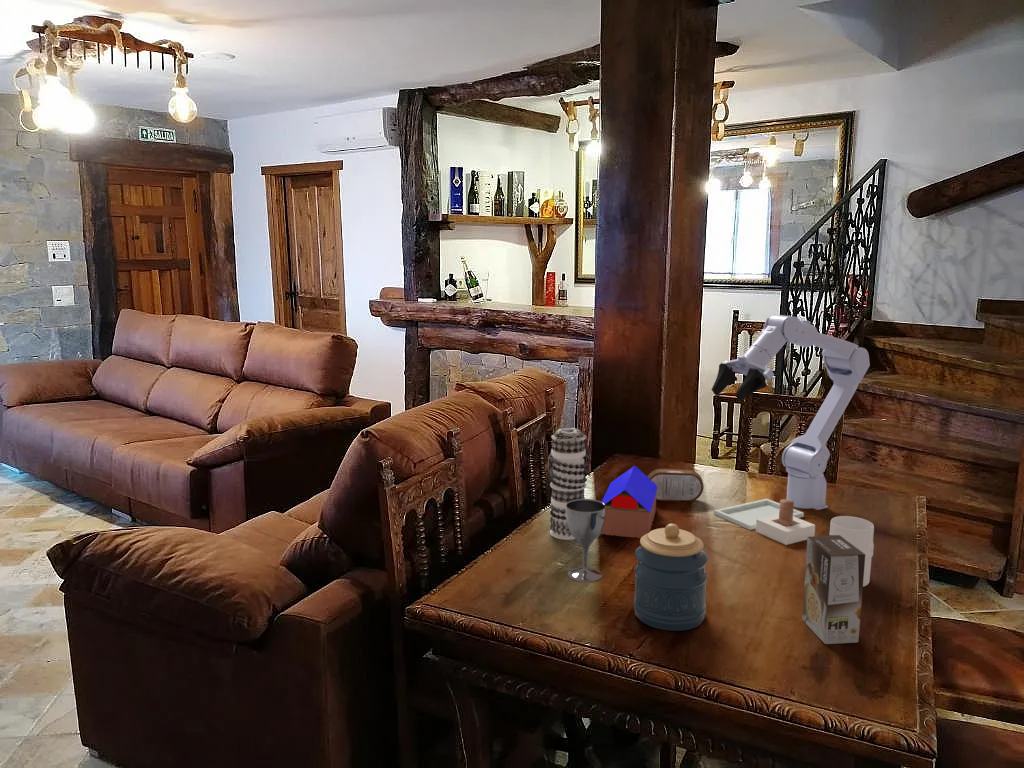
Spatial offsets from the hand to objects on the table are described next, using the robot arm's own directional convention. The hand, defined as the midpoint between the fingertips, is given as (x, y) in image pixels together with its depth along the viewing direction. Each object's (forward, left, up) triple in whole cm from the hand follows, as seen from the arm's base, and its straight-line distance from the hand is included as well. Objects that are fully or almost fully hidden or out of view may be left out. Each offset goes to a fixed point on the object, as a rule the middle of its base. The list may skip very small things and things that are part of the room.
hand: (725, 395), depth 177 cm
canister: (+39, +29, -33) cm, 59 cm away
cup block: (-8, +13, -32) cm, 36 cm away
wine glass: (+43, +7, -32) cm, 55 cm away
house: (+17, -13, -33) cm, 39 cm away
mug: (-4, +33, -32) cm, 46 cm away
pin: (-8, +13, -31) cm, 35 cm away
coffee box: (+18, +47, -32) cm, 60 cm away
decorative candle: (+34, -14, -32) cm, 49 cm away
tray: (-12, +1, -32) cm, 34 cm away
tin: (-3, -20, -33) cm, 38 cm away
